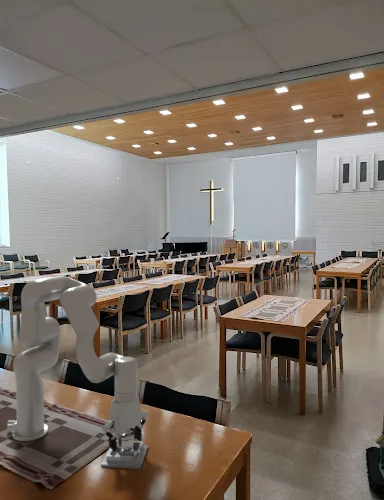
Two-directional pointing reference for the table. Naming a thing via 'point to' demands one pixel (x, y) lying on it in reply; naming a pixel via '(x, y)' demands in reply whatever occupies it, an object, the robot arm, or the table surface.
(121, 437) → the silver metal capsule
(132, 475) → the table surface
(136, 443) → the duct collar
